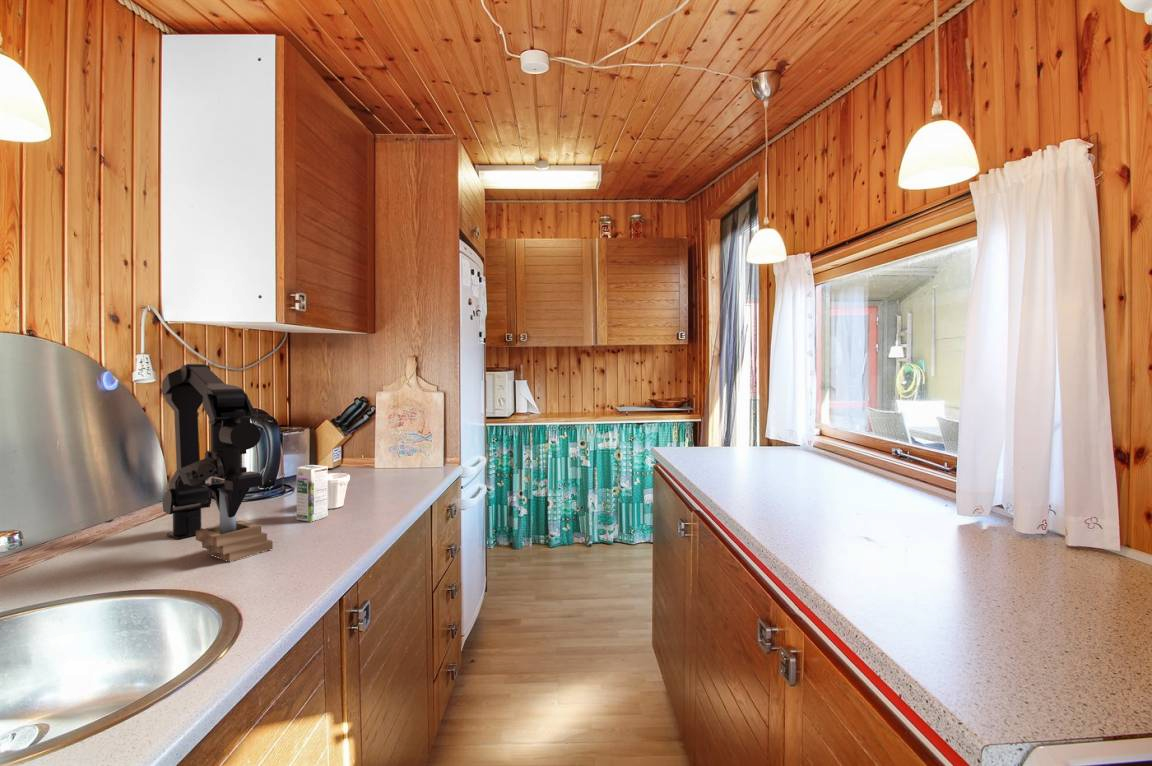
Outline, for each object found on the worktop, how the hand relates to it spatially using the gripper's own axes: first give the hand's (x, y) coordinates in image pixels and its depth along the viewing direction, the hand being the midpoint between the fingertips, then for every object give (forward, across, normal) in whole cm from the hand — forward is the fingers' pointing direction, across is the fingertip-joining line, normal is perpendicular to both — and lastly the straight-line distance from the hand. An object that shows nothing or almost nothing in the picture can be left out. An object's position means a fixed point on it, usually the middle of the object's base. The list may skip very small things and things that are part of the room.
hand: (227, 515), depth 113 cm
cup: (+9, -17, +36) cm, 41 cm away
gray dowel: (+4, 0, 0) cm, 4 cm away
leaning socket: (+9, 0, +1) cm, 9 cm away
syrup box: (+9, -11, +27) cm, 30 cm away
